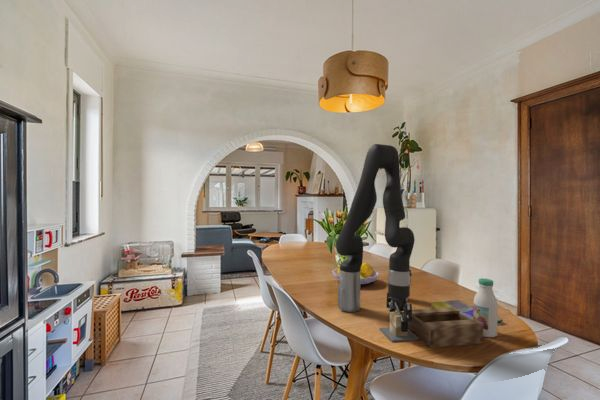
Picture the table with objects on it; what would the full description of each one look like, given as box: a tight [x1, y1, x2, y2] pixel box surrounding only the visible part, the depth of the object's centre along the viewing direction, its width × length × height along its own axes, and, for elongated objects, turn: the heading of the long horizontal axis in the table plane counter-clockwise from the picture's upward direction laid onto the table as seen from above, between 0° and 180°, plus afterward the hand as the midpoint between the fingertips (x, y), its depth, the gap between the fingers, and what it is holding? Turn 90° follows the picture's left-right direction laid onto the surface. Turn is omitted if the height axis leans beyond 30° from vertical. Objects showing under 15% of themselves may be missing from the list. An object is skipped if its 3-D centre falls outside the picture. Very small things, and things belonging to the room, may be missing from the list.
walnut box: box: [408, 307, 484, 349], centre depth 109 cm, size 20×15×7 cm
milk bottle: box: [472, 277, 499, 338], centre depth 111 cm, size 8×8×20 cm
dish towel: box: [430, 299, 505, 327], centre depth 129 cm, size 18×24×3 cm
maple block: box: [389, 311, 407, 336], centre depth 109 cm, size 4×4×7 cm
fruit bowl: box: [331, 257, 380, 286], centre depth 178 cm, size 28×27×11 cm
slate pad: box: [378, 326, 419, 343], centre depth 109 cm, size 10×10×1 cm
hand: (398, 326), depth 109 cm, fingers open, 8 cm apart
